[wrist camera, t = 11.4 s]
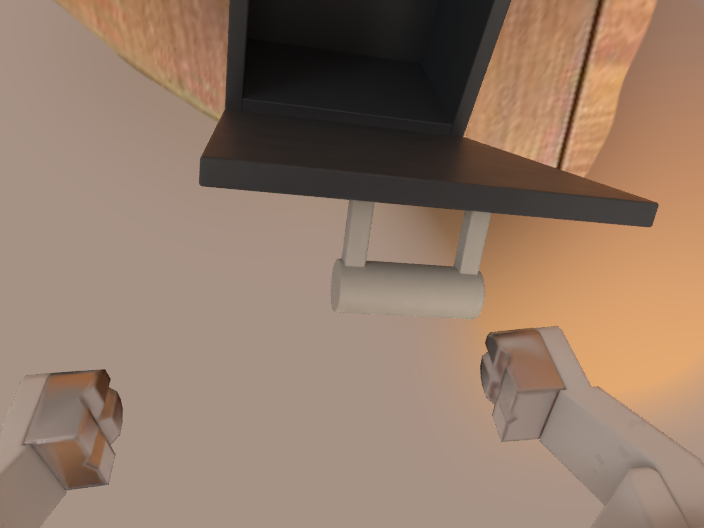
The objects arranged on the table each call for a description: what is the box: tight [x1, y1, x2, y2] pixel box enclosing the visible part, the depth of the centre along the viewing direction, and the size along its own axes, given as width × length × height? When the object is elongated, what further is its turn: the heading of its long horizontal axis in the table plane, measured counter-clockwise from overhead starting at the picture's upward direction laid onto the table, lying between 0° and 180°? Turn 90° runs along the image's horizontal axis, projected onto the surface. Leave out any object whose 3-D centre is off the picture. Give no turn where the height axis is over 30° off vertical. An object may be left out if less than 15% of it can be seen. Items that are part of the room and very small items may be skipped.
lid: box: [199, 109, 658, 319], centre depth 24 cm, size 17×14×5 cm
